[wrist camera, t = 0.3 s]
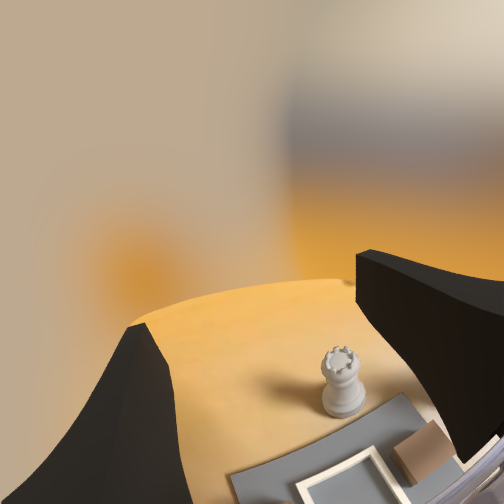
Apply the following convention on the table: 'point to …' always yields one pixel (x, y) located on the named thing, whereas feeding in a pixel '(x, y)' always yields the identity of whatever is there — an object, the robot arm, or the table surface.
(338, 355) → the rook chess piece
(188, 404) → the table surface
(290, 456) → the grey base plate
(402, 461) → the walnut blocks
